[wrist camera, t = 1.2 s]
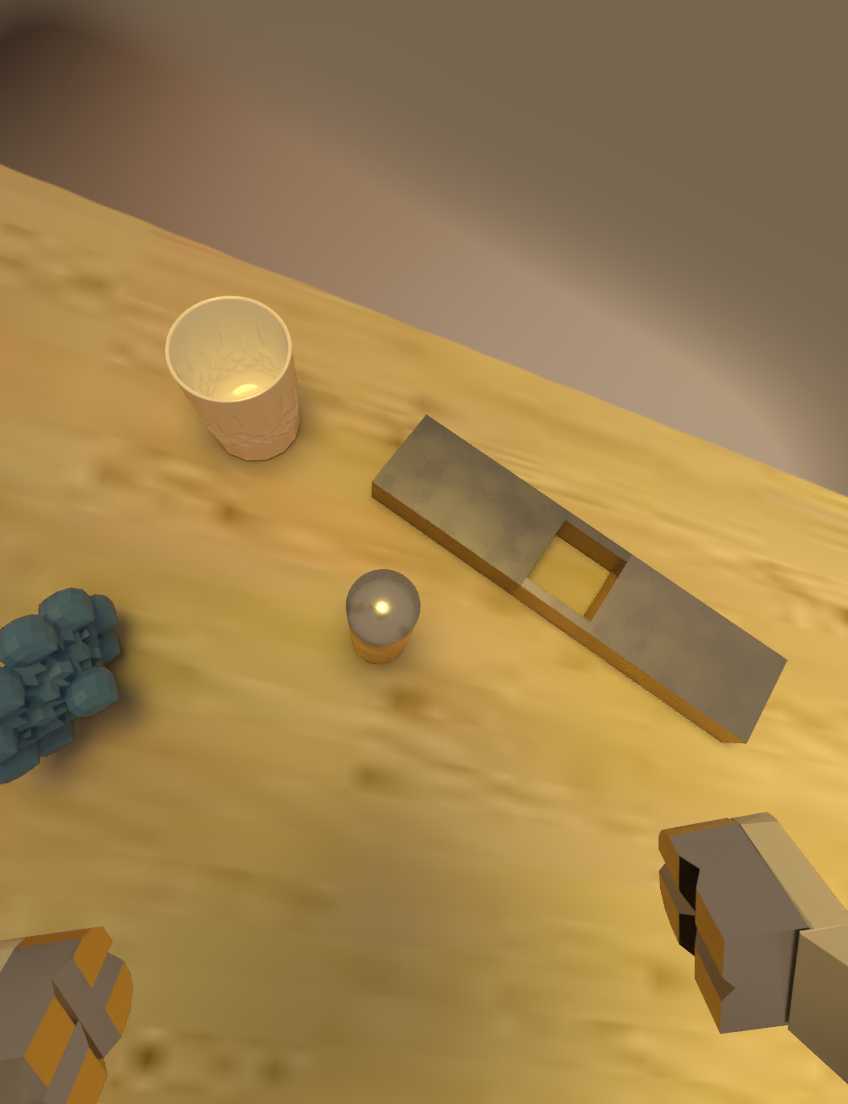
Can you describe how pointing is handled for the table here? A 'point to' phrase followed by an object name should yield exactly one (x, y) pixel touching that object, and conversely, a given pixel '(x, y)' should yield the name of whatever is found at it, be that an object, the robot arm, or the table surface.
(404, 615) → the pin
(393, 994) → the table surface
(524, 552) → the grey slab
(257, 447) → the white cup
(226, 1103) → the table surface
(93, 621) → the grapes
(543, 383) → the table surface
